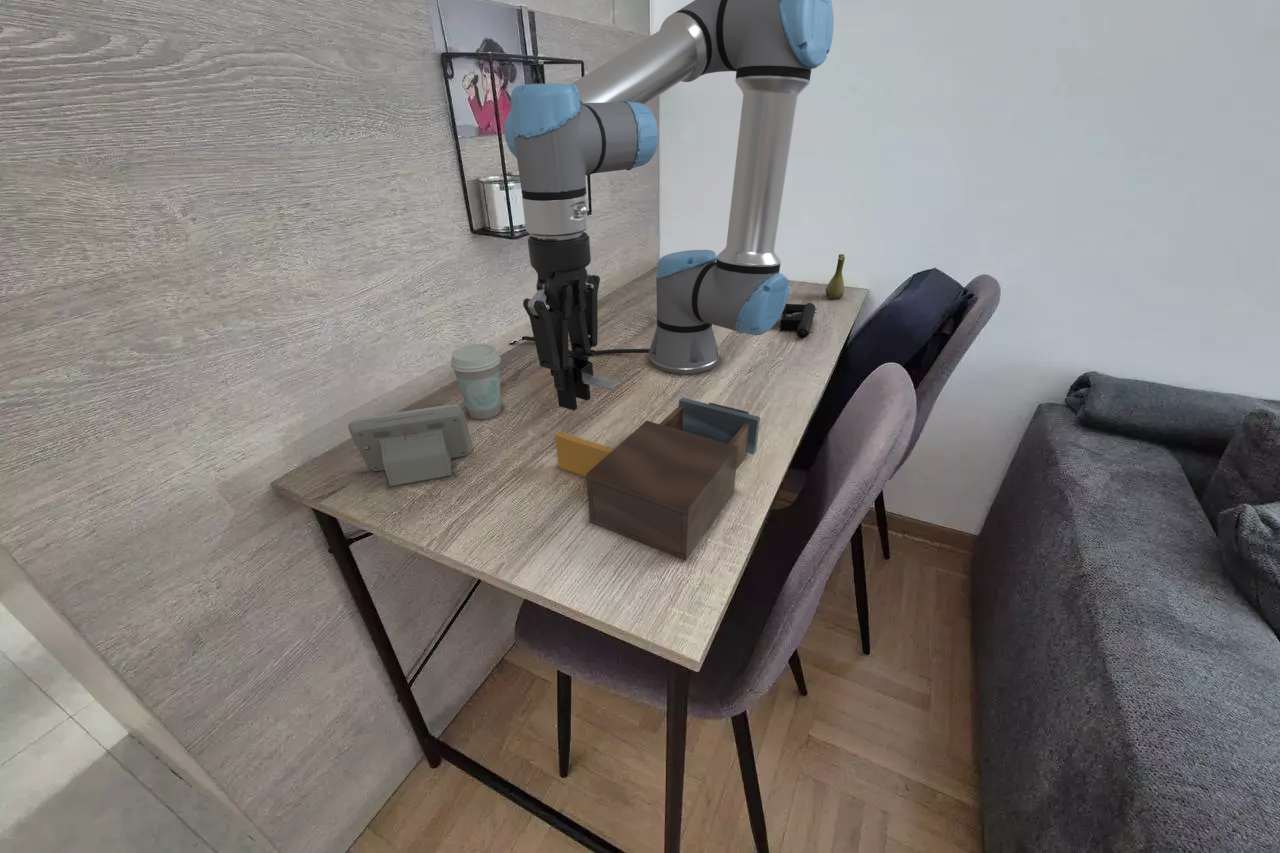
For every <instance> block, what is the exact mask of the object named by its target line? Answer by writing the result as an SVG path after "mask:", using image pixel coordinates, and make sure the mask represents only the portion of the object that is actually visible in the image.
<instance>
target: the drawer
mask: <svg viewBox="0 0 1280 853" xmlns="http://www.w3.org/2000/svg"><path fill="white" fill-rule="evenodd" d="M760 422H761V416H758V415H754V414H750V412H749V411H746V410H743V409H737V408H734V407H729V406H726V405H721V404H717V403H714V402H708V403H706V402H703V401H699V400H694V399H691V398H688V397H683V396H682V397H680V398H679V400H678V406H677V407H676V408H675V409H674V410H673V411H672V412H671V413H670V414H668V415H667V416H666V417H665V418H663V420H662V421H661V422H660V423H659V424H660V425H664V426H667V427H671V428H674V429H678V430H682V431H685V432H689V433H692V434H696V435H699V436H703V437H706V438H710V439H713V440H717V441H720V442H724V443H728V444H731V445H735V446H738V454H737V465H736V470H738V468H739V467H740V465H741V464H742V463H743V461H744V460H745V459H746V458H747V455H748V454H751V455H755V453H756V452H757V451H758V450H757V449H758V439H759V430H760Z"/></svg>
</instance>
